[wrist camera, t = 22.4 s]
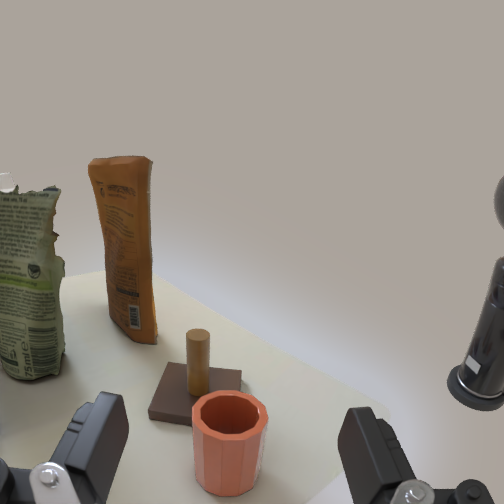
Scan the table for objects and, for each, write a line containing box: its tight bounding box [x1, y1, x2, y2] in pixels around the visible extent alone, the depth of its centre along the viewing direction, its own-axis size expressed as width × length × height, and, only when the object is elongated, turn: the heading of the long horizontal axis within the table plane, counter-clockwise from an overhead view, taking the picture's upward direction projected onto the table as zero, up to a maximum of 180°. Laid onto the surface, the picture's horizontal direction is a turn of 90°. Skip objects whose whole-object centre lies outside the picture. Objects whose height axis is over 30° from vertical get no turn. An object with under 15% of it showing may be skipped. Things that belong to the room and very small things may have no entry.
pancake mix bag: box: [88, 156, 157, 344], centre depth 48 cm, size 7×19×28 cm, turn 46°
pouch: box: [0, 185, 65, 380], centre depth 34 cm, size 11×12×25 cm
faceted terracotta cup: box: [192, 390, 268, 496], centre depth 25 cm, size 6×6×9 cm
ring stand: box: [148, 329, 242, 426], centre depth 35 cm, size 10×10×10 cm
